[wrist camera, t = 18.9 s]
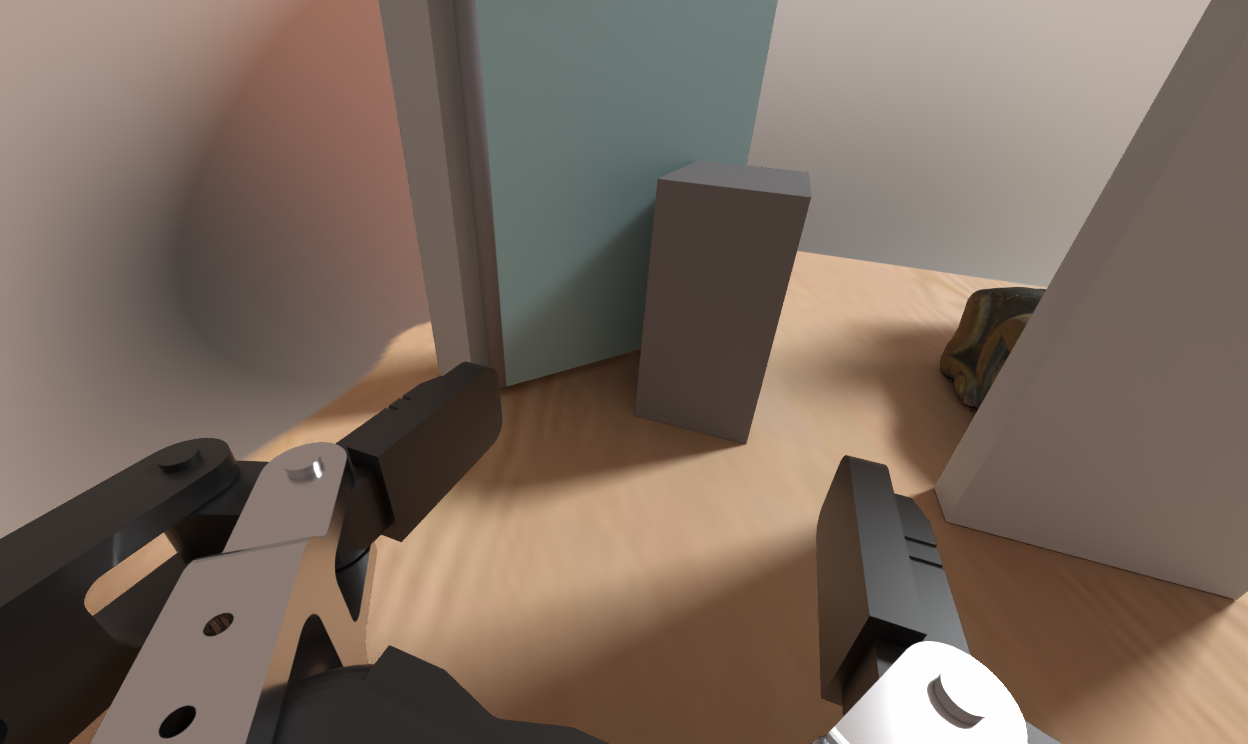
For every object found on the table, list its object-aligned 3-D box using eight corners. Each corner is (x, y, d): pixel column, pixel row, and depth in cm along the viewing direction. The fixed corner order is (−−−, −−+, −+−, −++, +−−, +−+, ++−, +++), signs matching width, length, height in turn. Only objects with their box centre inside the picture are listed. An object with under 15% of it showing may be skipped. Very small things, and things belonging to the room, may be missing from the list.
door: (692, 315, 33) (740, 5, 24) (716, 327, 31) (777, 0, 22) (478, 368, 25) (428, -74, 16) (495, 389, 23) (450, -91, 14)
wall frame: (1195, 553, 17) (2348, -509, 6) (1236, 599, 16) (2907, -735, 5) (464, 368, 25) (385, -244, 14) (441, 385, 24) (331, -290, 13)
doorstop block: (759, 366, 28) (808, 172, 22) (745, 444, 21) (811, 197, 16) (672, 347, 29) (697, 160, 24) (634, 416, 23) (657, 178, 17)
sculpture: (1195, 551, 18) (1351, 402, 14) (1003, 503, 19) (1101, 359, 16) (1042, 385, 29) (1108, 279, 25) (928, 363, 30) (975, 260, 27)
